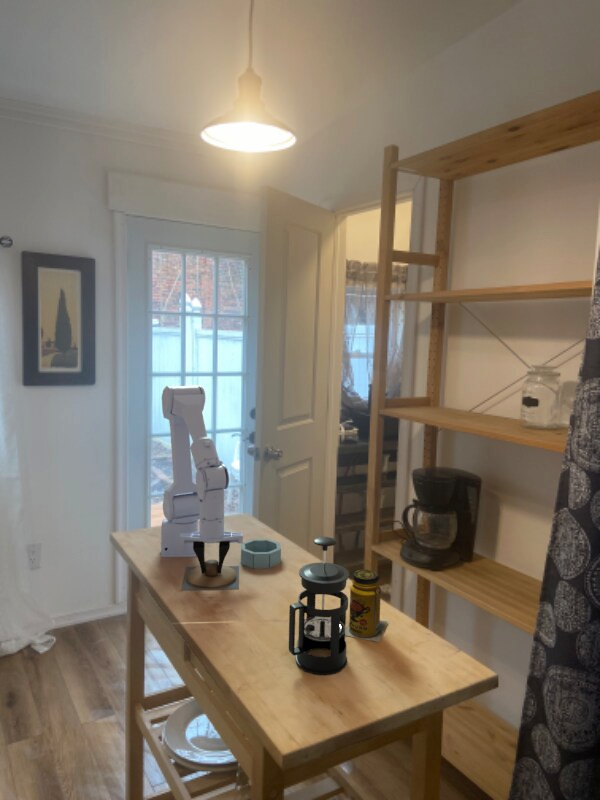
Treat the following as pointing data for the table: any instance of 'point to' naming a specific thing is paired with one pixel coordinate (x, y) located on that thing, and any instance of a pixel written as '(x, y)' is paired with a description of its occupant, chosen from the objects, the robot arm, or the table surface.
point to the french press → (320, 616)
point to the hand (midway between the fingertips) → (211, 571)
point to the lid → (211, 575)
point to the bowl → (260, 553)
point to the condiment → (365, 607)
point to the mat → (231, 586)
